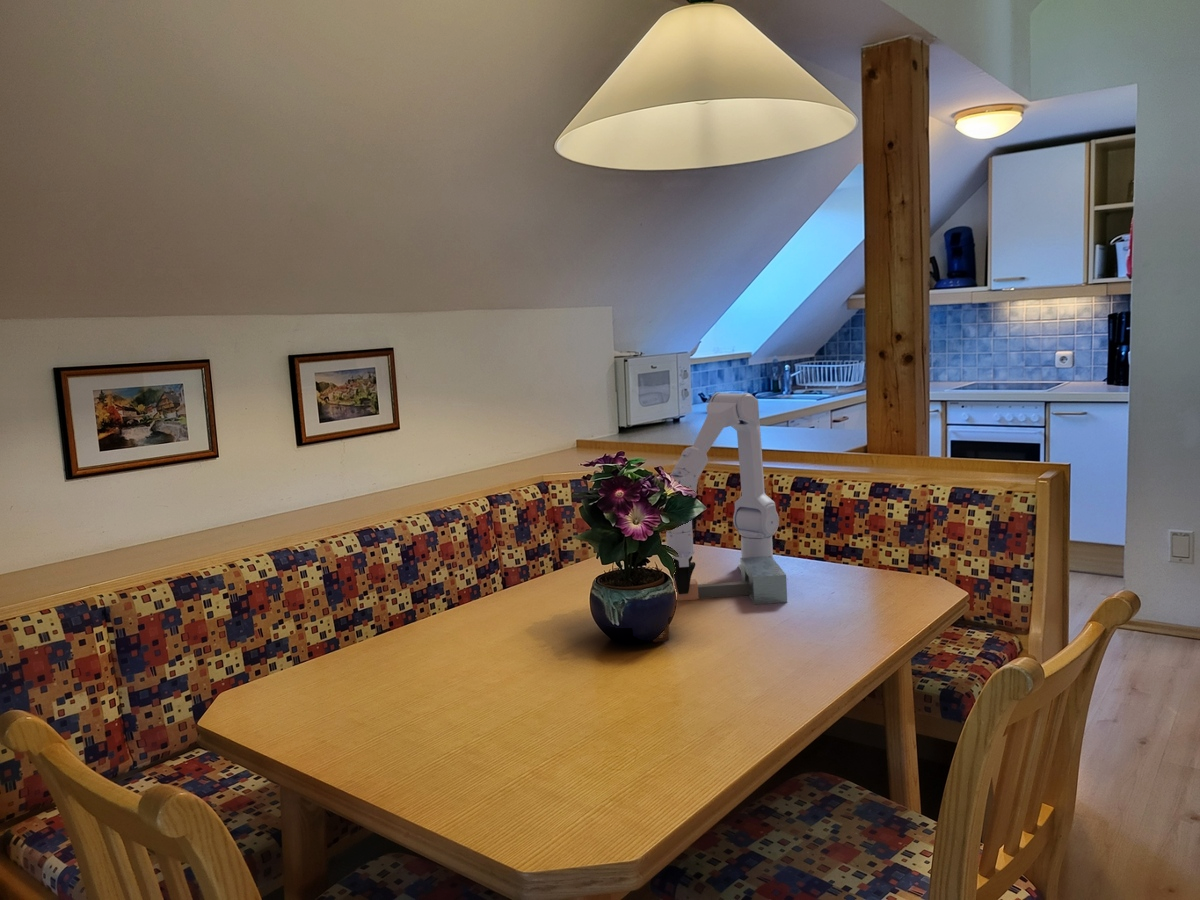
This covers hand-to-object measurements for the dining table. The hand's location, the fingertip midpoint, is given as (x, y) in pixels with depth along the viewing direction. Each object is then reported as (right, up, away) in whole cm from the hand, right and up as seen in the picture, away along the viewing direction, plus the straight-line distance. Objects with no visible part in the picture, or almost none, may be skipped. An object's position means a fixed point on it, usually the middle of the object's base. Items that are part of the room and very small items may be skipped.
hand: (682, 590), depth 203 cm
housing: (+18, 0, 0) cm, 18 cm away
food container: (-10, -6, -23) cm, 25 cm away
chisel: (+7, -1, 0) cm, 7 cm away
